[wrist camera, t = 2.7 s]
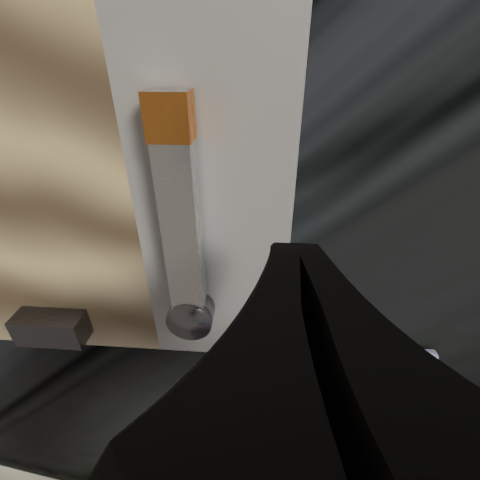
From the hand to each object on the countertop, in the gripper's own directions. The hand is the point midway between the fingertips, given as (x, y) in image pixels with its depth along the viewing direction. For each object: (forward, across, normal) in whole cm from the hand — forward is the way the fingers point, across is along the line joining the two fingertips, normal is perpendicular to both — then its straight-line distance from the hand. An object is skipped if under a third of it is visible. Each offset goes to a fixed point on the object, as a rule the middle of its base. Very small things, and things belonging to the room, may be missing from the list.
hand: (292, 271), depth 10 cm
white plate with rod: (+7, +3, +2) cm, 8 cm away
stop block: (+6, +13, +8) cm, 17 cm away
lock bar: (+5, +5, +2) cm, 7 cm away
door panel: (+7, +13, +2) cm, 15 cm away
